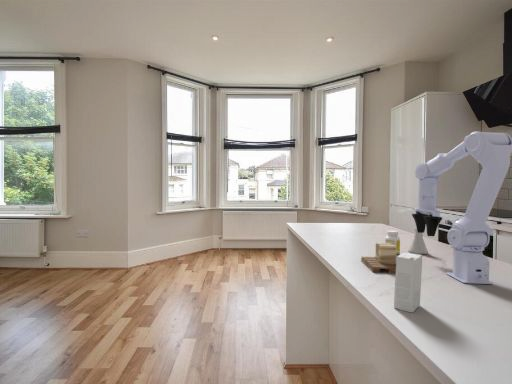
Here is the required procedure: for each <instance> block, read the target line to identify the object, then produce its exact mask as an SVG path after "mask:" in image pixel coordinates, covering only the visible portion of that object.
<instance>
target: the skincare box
mask: <svg viewBox="0 0 512 384" xmlns="http://www.w3.org/2000/svg"><path fill="white" fill-rule="evenodd" d="M396 258H397V259H396V272H395V276H394V277H395V278H394V281H395V282H394V297H393V298H394V299H393V307H394V308H395V309H398V310H400V311H403V312H408V313H414V312H415V311H416V310H417V309H418V307H419V306H420V305H421V292H422V291H421V290H422V274H423V273H422V270H423V254H416V253H411V252H409V253H408V252H403V253H400V255H399V256H398V257H396Z"/></svg>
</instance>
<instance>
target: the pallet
mask: <svg viewBox="0 0 512 384" xmlns="http://www.w3.org/2000/svg"><path fill="white" fill-rule="evenodd" d="M396 259H397V257H396ZM360 260H361V263H362V264H363V265H365V266H366V267H367V269H369V270H370V271H371V272H372V273H377V274H378V273H380V270H381V269H383V270H384V271H386V272H389V274H396V263H395V264H380V263H379V262H378V261H376V260H375V256H361V259H360Z"/></svg>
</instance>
